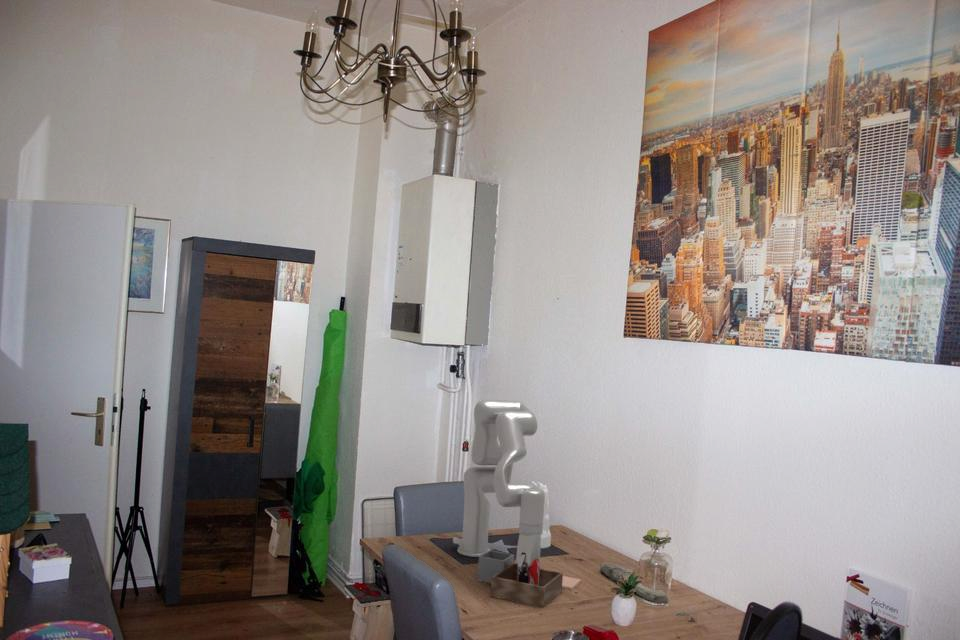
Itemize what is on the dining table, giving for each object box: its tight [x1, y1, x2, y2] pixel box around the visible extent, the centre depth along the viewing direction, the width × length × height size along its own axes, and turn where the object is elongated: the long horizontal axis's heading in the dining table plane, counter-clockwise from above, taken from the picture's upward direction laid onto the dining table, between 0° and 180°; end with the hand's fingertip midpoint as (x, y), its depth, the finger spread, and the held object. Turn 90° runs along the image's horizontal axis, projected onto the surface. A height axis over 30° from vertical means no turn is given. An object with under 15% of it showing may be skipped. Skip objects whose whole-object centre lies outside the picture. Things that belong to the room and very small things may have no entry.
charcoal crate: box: [477, 549, 515, 584], centre depth 267 cm, size 9×9×8 cm
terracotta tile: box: [562, 575, 582, 591], centre depth 267 cm, size 10×10×1 cm
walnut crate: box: [490, 562, 564, 608], centre depth 254 cm, size 17×17×6 cm
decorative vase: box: [530, 480, 552, 549], centre depth 313 cm, size 11×11×25 cm
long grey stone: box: [600, 561, 668, 604], centre depth 269 cm, size 35×5×10 cm
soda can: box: [517, 557, 541, 586], centre depth 255 cm, size 7×7×12 cm
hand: (527, 583), depth 254 cm, fingers closed on soda can, 7 cm apart
